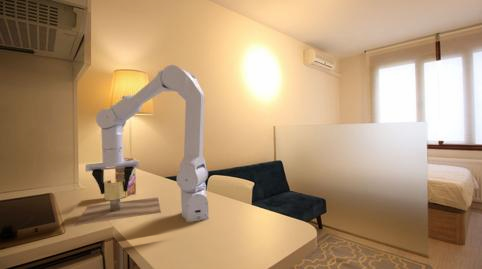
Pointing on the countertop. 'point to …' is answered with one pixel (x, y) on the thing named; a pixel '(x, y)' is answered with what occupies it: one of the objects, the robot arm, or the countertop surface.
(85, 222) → the keyed post board
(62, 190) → the countertop surface
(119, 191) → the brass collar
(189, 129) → the robot arm
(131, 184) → the candy box
